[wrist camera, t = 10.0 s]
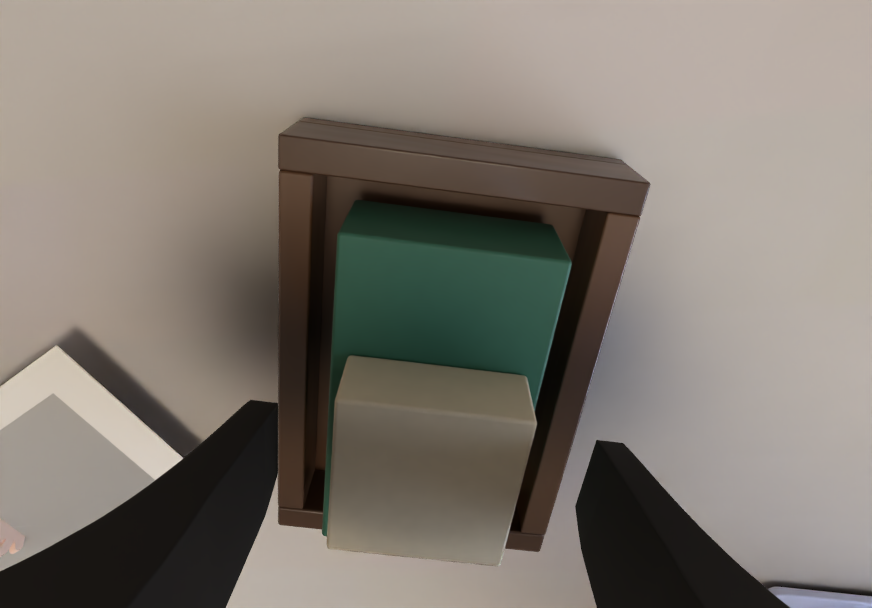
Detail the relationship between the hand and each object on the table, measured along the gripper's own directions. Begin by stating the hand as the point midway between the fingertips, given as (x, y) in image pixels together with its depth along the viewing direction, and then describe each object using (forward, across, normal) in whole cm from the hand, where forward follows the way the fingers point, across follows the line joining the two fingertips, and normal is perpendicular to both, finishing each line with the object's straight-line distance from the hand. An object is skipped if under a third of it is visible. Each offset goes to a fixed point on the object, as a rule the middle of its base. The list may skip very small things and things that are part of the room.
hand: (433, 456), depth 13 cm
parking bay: (+5, 0, 0) cm, 5 cm away
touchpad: (+5, +14, +9) cm, 18 cm away
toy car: (+5, 0, 0) cm, 5 cm away
